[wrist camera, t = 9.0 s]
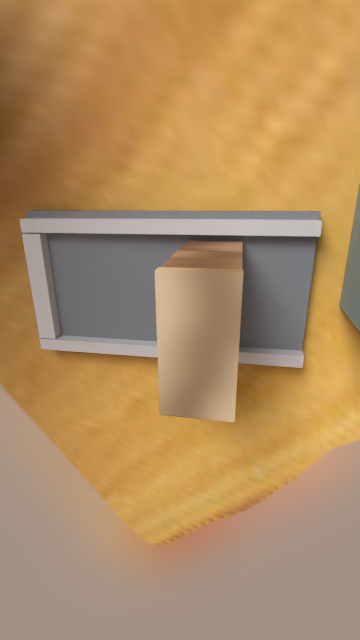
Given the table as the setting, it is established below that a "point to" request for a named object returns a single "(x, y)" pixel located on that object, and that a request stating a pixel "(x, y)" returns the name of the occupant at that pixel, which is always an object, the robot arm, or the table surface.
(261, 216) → the track
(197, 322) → the tan rectangular block
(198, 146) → the table surface
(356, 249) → the cabinet
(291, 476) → the table surface
